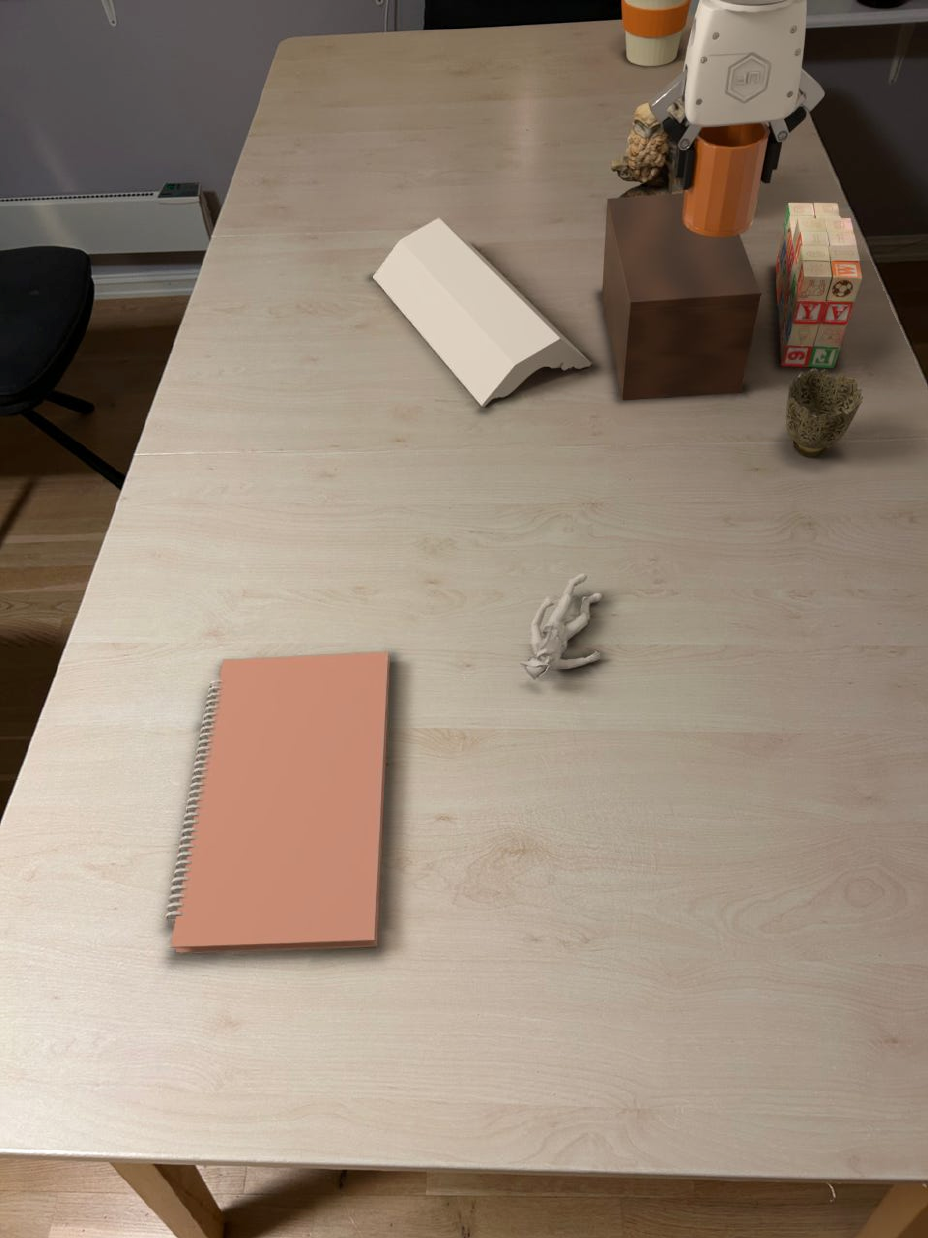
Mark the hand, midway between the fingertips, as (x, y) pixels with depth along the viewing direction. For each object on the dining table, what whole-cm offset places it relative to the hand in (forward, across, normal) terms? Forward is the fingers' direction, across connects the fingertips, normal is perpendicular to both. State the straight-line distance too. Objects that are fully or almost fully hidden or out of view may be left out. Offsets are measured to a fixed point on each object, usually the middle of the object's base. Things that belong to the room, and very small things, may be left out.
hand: (723, 178), depth 94 cm
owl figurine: (+24, +4, +37) cm, 44 cm away
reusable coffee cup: (+24, +10, +92) cm, 95 cm away
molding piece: (+24, -26, +14) cm, 38 cm away
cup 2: (+24, +10, -14) cm, 30 cm away
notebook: (+24, -45, -53) cm, 74 cm away
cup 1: (+4, 0, 0) cm, 4 cm away
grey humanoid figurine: (+24, -20, -39) cm, 50 cm away
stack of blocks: (+24, +16, +10) cm, 30 cm away
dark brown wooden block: (+24, -2, +7) cm, 25 cm away
